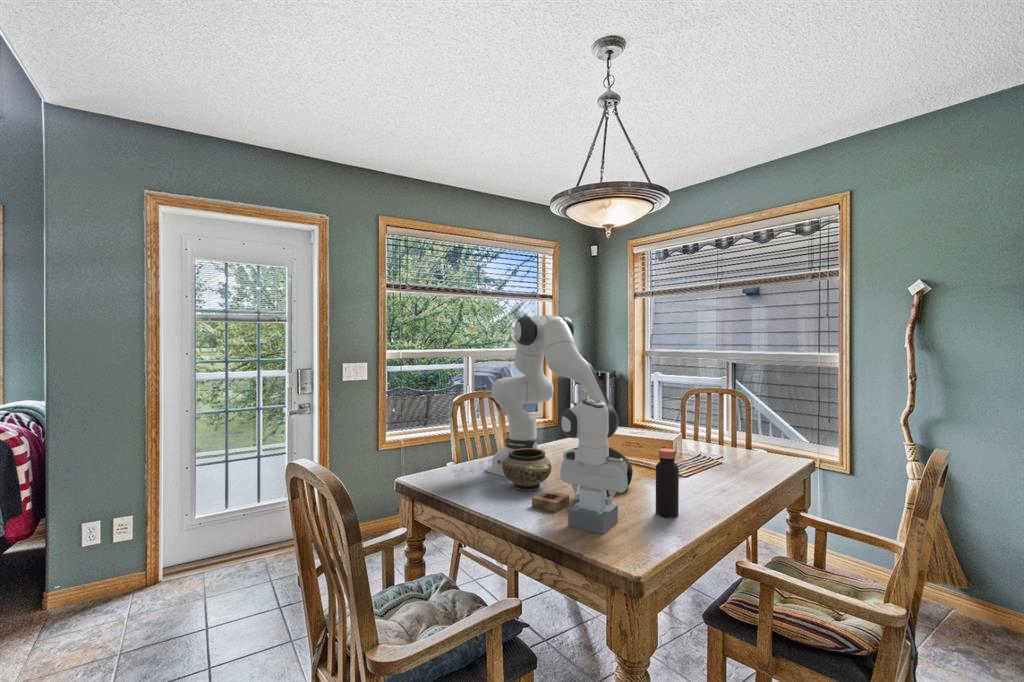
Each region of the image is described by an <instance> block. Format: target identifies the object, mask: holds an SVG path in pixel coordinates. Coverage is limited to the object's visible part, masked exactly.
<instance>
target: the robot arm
mask: <svg viewBox="0 0 1024 682" xmlns="http://www.w3.org/2000/svg"><path fill="white" fill-rule="evenodd" d="M574 327H575V325H574V323H573V321H572V320H571V318H570V317H568V316H563V315H553V314H552V315H551V314H550V315H549V314H543V315H534V316H528V315H526V316H522V317H521V316H520V317H519V318H518V319H517V320H516V321H515V324H514V327H513V329H514V330H513V335H514V339H515V341H516V342H517V344H516V350H515V355H514V363H513V364H514V367H515V369H516V370H518V372H520V373H522V376H505V377H502V378H498V379H496V380H494V382H493V384H492V385H491V395H492V398H493V400H494V401H495V402H496V403H497V404H498V405H499V406H500V407H501V408H502V409H503V410H504V412H505V413H506V415H507V420H508V434H509V436H508V437H507V438H504V440H503V443H505V446H503V448H501V449H500V450H499V451H497V452H495V454H494V455H493V457H492V458H491V465H488V466H486V468H485V471H486V472H487V473H491V474H495V475H498V476H502V477H505V478H507V477H506V476H505V474H504V472H503V469H502V465H503V462H504V460H505V459H506V456H508V455H509V452H510V451H511V450H514V449H521V448H535V449H539V447H538V445H539V444H538V443H539V442H538V441H539V440H538V437H537V419H536V417H535V416H534V415H533V414H531V413H530V412H528V411H526V410H525V409H524V405H525V404H526V405H527V404H528V405H529V404H542V403H544V402H548V401H550V400H551V399H552V397H553V395H554V392H555V391H554V390H555V388H554V384H553V381H551V379H550V378H548V377H547V376H546V375H545V374H544V373H545V372H544V370H543V369H544V368H543V363H544V359H545V362H546V364H547V367H548V369H549V370H550V371H551V372H552V373H554V374H555V375H557V376H561V377H562V378H567V379H569V380H572V381H574V382H576V383H578V384H580V385H581V386H582V387H583V388H584V391H585V392H586V394H587V397H588V398H584V399H582V400H581V401H580V402H579V404H578V405H575V406H572V407H570V408H566V409H565V410H564V411H563V413H562V414H561V415H560V429H561V432H562V433H563V434H564V435H565V436H566V437H567V438H570V439H578V446H577V447H573V448H571V449H568V450H566V451H564V452H562V459H563V460H562V461H561V464H560V476H559V477H560V480H561V482H563V483H566V484H571V489H572V490H573V493H574V494H575V495H574V498H575V499H576V500H579V489H580V488H579V487H580V485H582V486H587V487H593V488H598V489H604V490H607V491H608V494H609V496H607V498H606V499H605V505H609V506H610V505H611V504H613V498H614V497H615V495H616V493H621V494H623V493H624V492H626V490H627V489H628V487H629V486H628V479H627V471H628V466H627V463H626V462H625V461H623V460H622V459H616V458H612V457H609V447H610V446H609V440H608V438H611V437H612V436H613V435H614V434H615V433H616V432H617V430H618V428H619V426H620V420H619V415H618V413H617V411H616V409H615V408H614V407H613V404H611V402H610V401H609V399H608V398H609V397H608V395H606V392H605V390H604V387H603V386H602V384H601V381H600V380H599V376H598V375H597V373H596V371H595V369H594V367H593V366H592V364H591V363H589V361H587V360H586V359H585V358H584V357H583V356H582V355H581V353H580V352H579V350H578V348H577V345H576V344H577V343H576V341H575V338H574V334H575V329H574ZM523 374H524V375H523ZM622 462H624V463H622Z"/></svg>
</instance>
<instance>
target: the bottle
mask: <svg viewBox="0 0 1024 682" xmlns="http://www.w3.org/2000/svg"><path fill="white" fill-rule="evenodd" d="M676 453H677V452H676V450H675V449H673V448H663V447H662V448H660V449H659V450H658V458H659V462H657V464H656V465H655V514H656V515H657V516H659V515H660V516H659V517H662V516H663V517H662V518H667V517H673V518H677V517H678V516H679V511H680V510H679V507H680V506H679V500H680V498H679V497H680V496H679V495H680V493H679V490H680V489H679V488H680V487H679V486H680V485H679V482H680V481H679V480H680V479H679V477H680V475H679V473H680V472H679V469H680V468H679V465H677V463H676V461H675V460H676V457H677V456H676ZM676 516H677V517H676Z"/></svg>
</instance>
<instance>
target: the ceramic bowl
mask: <svg viewBox="0 0 1024 682" xmlns="http://www.w3.org/2000/svg"><path fill="white" fill-rule="evenodd" d="M502 469H503V472H504V474H505V476H506V477H505V476H504V477H505V478H507V480H508V481H510V482H511V483H513V484H514V485H513V486H514V488H515V489H518V490H519V489H520V490H521V491H535V490H538V489H539V488H540V486H541V485H540V484H541V483H542V484H543V482H545V481H546V480H547V479H548V477H550V476H551V475H550V474H551V472H552V462H551V460H550V459H549V458H548V457H547V456H546V452H545V450H543V449H540V448H538V449H535V448H521V449H514V450H511V451H510V452H509V455H508V456H506V459H505V460H504V462H503V465H502Z"/></svg>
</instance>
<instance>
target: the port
mask: <svg viewBox="0 0 1024 682" xmlns="http://www.w3.org/2000/svg"><path fill="white" fill-rule="evenodd" d="M618 522H619V504H614V503H612V504H611V505H610V506H609V505H606V507H605V508H603V509H602V510H601V511H599V512H596V511H591V510H586V509H581V508H579V501H578V502H577V503H575V504H573V505H572V506H571V507H569V508H568V509H567V527H570V528H573V529H580V530H583V531H587V532H591V533H595V534H599V535H600V534H601V535H605V533H607V532H609V531H610V530H611V529H612V528H613V527H614V526H615V525H616V524H617V523H618Z"/></svg>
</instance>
